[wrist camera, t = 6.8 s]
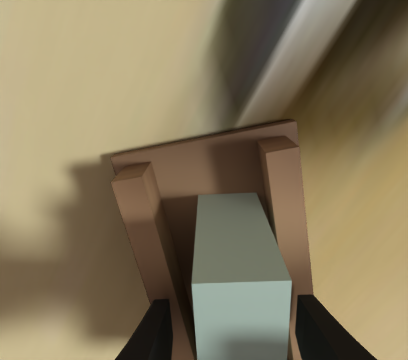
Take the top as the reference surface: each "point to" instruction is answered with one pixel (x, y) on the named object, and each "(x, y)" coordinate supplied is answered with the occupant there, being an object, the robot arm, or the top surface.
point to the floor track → (187, 211)
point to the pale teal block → (238, 282)
